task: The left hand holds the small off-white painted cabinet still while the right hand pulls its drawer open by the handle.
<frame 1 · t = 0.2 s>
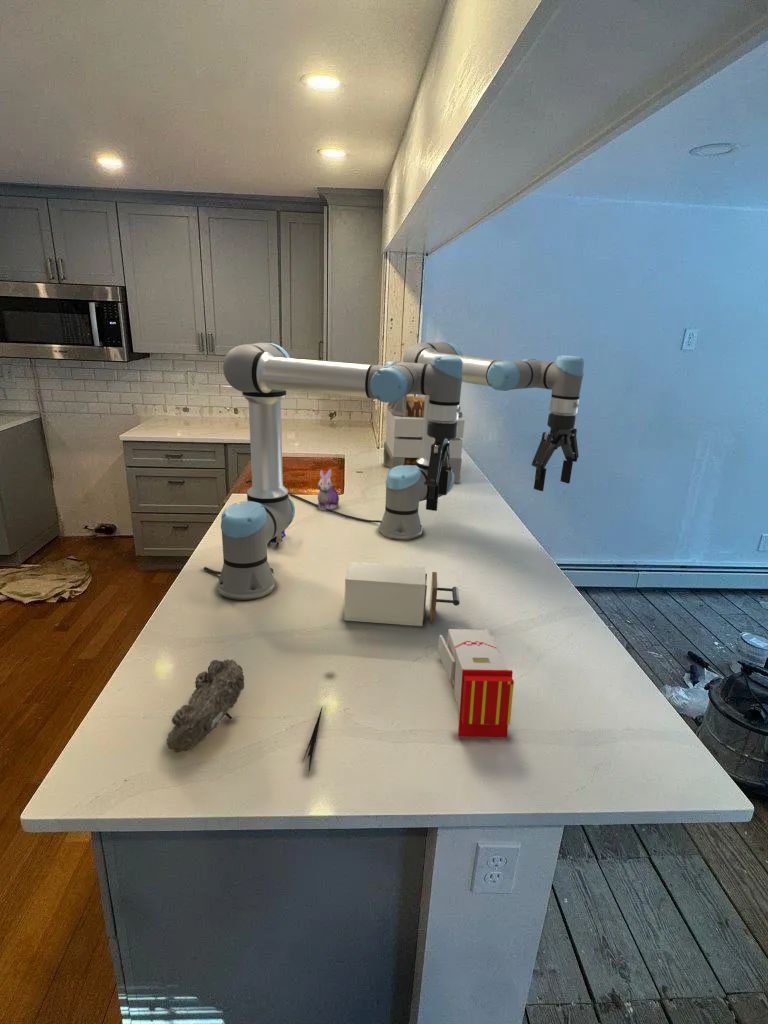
left hand: (436, 501, 148), 28 cm above the counter, tool pointing down, fingers open, 13 cm apart
right hand: (551, 486, 165), 28 cm above the counter, tool pointing down, fingers open, 13 cm apart
cabinet: (384, 613, 148), on the counter
feather: (319, 719, 109), on the counter
drawer: (410, 595, 145), point 6 cm above the counter, slide at 1.8 cm
figurine character: (275, 541, 189), on the counter
figurine: (327, 507, 223), on the counter
fossil: (212, 717, 108), on the counter
transformer: (419, 473, 275), on the counter
toy: (469, 691, 119), on the counter
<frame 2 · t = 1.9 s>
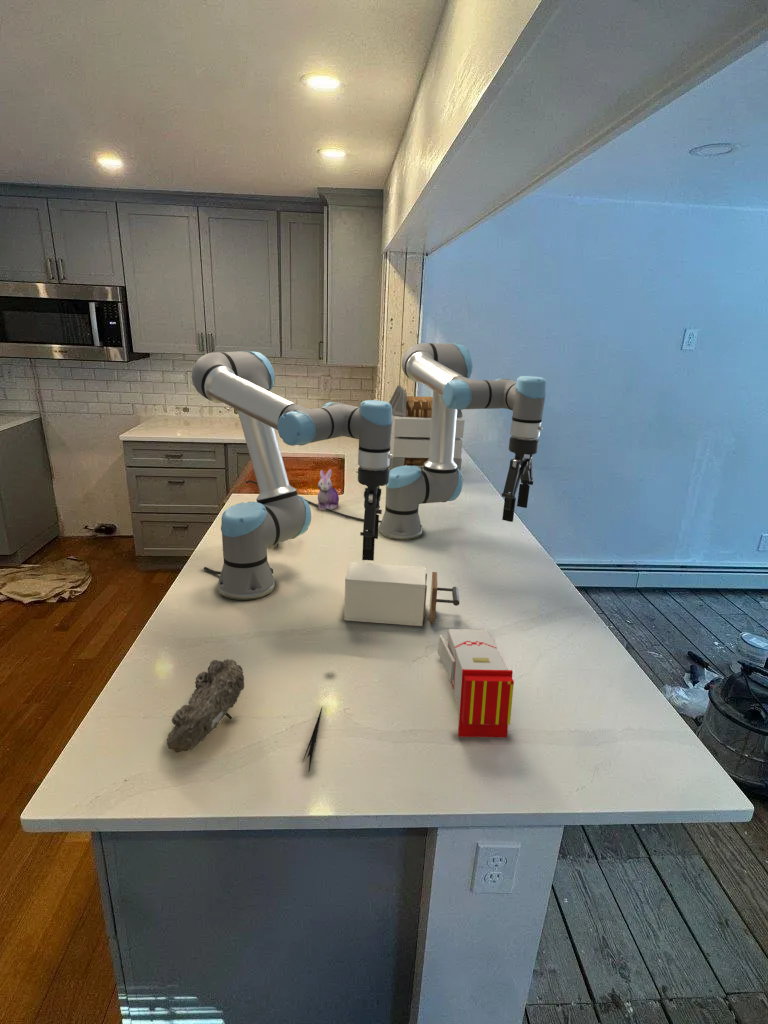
left hand: (370, 548, 142), 18 cm above the counter, tool pointing down, fingers open, 13 cm apart
right hand: (514, 513, 155), 23 cm above the counter, tool pointing down, fingers open, 13 cm apart
nothing on the counter moved.
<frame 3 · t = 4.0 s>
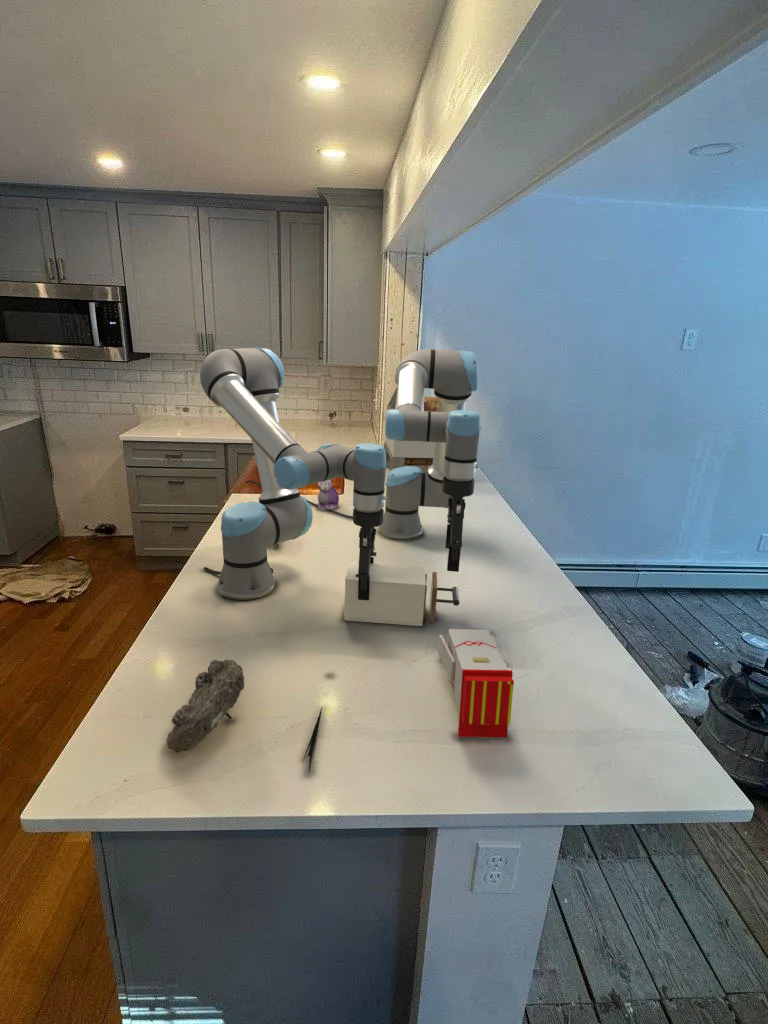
left hand: (365, 589, 146), 7 cm above the counter, tool pointing down, fingers closed on cabinet, 10 cm apart
right hand: (451, 559, 141), 17 cm above the counter, tool pointing down, fingers open, 13 cm apart
cabinet: (384, 613, 148), on the counter, touching left hand
everything else where it was.
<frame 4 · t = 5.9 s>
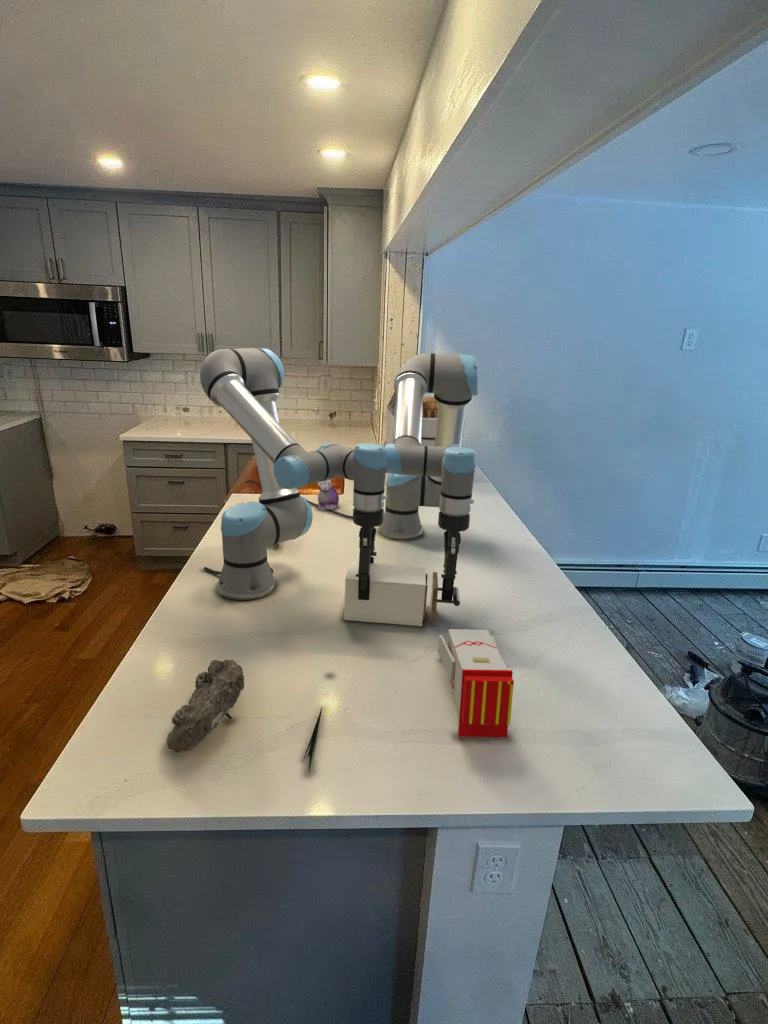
left hand: (365, 589, 146), 7 cm above the counter, tool pointing down, fingers closed on cabinet, 10 cm apart
right hand: (446, 598, 145), 6 cm above the counter, tool pointing down, fingers closed
cabinet: (384, 613, 148), on the counter, touching left hand
everything else where it was.
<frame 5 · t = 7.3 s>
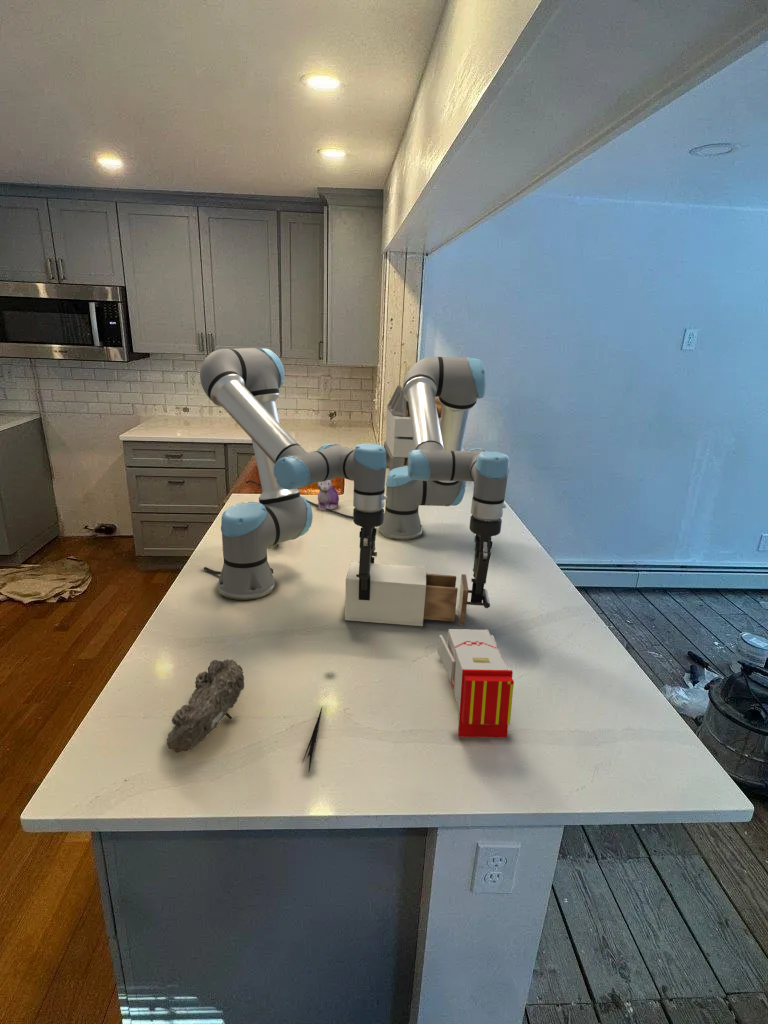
left hand: (366, 589, 146), 7 cm above the counter, tool pointing down, fingers closed on cabinet, 10 cm apart
right hand: (476, 603, 145), 5 cm above the counter, tool pointing down, fingers closed
cabinet: (385, 613, 148), on the counter, touching left hand
drawer: (440, 597, 145), point 6 cm above the counter, slide at 9.2 cm, touching right hand
everything else where it was.
when the left hand's fingers open (7 cm above the counter, at t = 9.2 s): cabinet stays where it is, on the counter.
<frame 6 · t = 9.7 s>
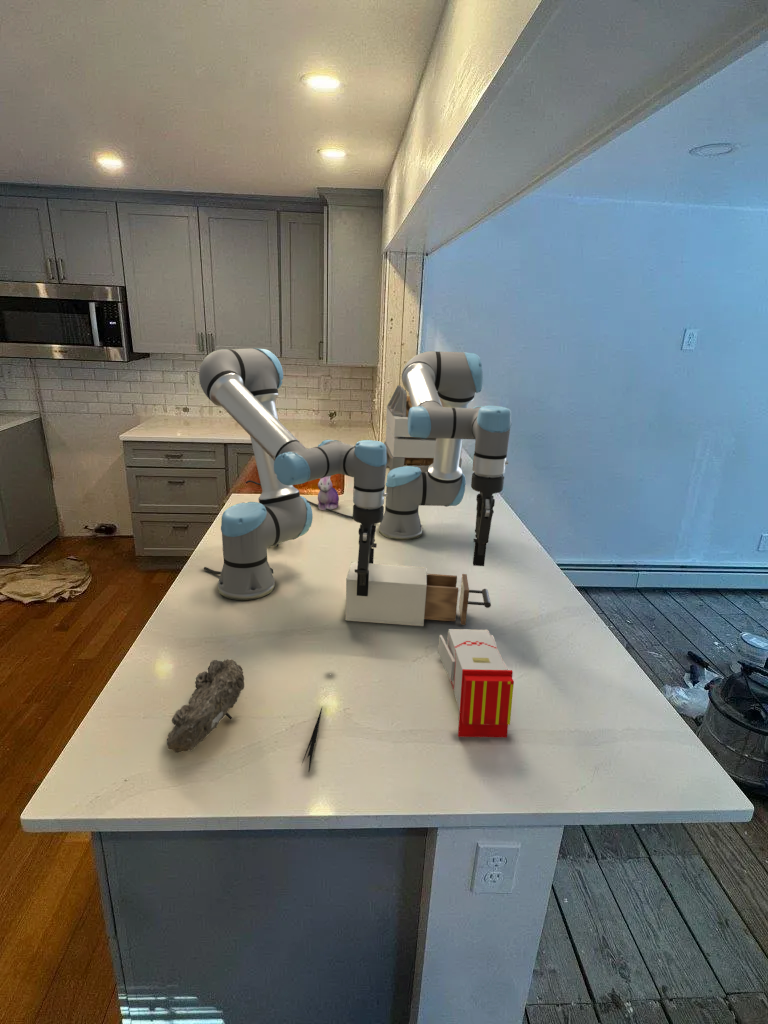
left hand: (365, 582, 145), 8 cm above the counter, tool pointing down, fingers open, 13 cm apart
right hand: (478, 564, 141), 16 cm above the counter, tool pointing down, fingers closed
cabinet: (385, 613, 148), on the counter
drawer: (441, 597, 145), point 6 cm above the counter, slide at 9.3 cm
everything else where it was.
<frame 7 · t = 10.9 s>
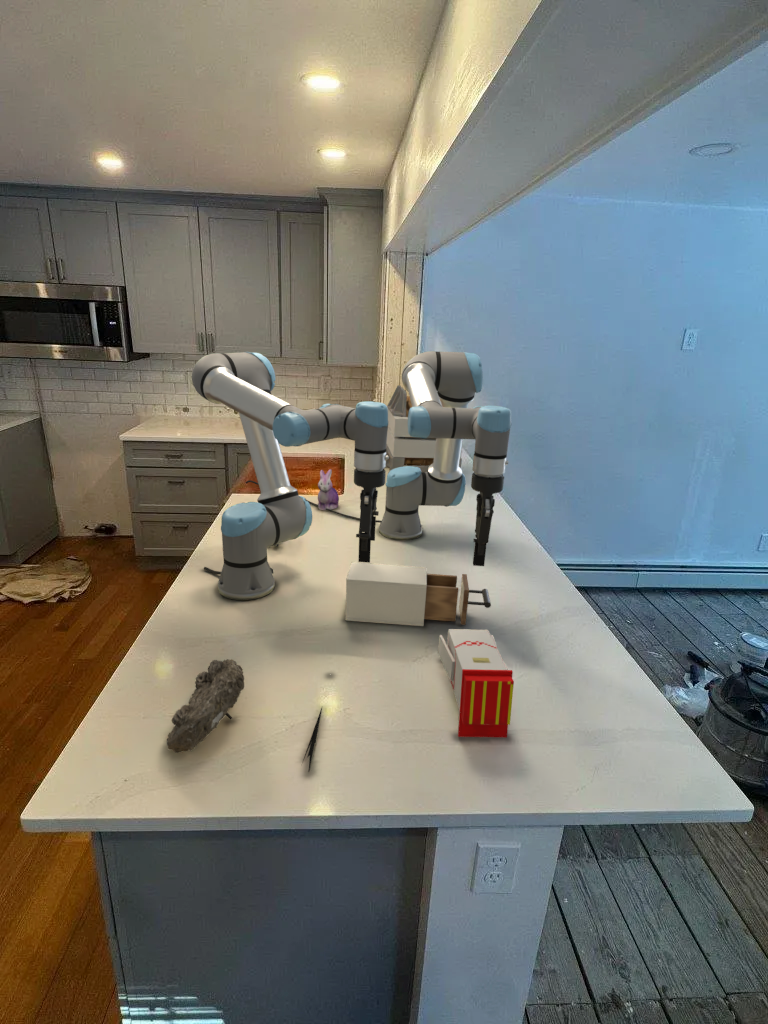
left hand: (367, 550, 142), 17 cm above the counter, tool pointing down, fingers open, 13 cm apart
right hand: (478, 564, 141), 16 cm above the counter, tool pointing down, fingers closed
nothing on the counter moved.
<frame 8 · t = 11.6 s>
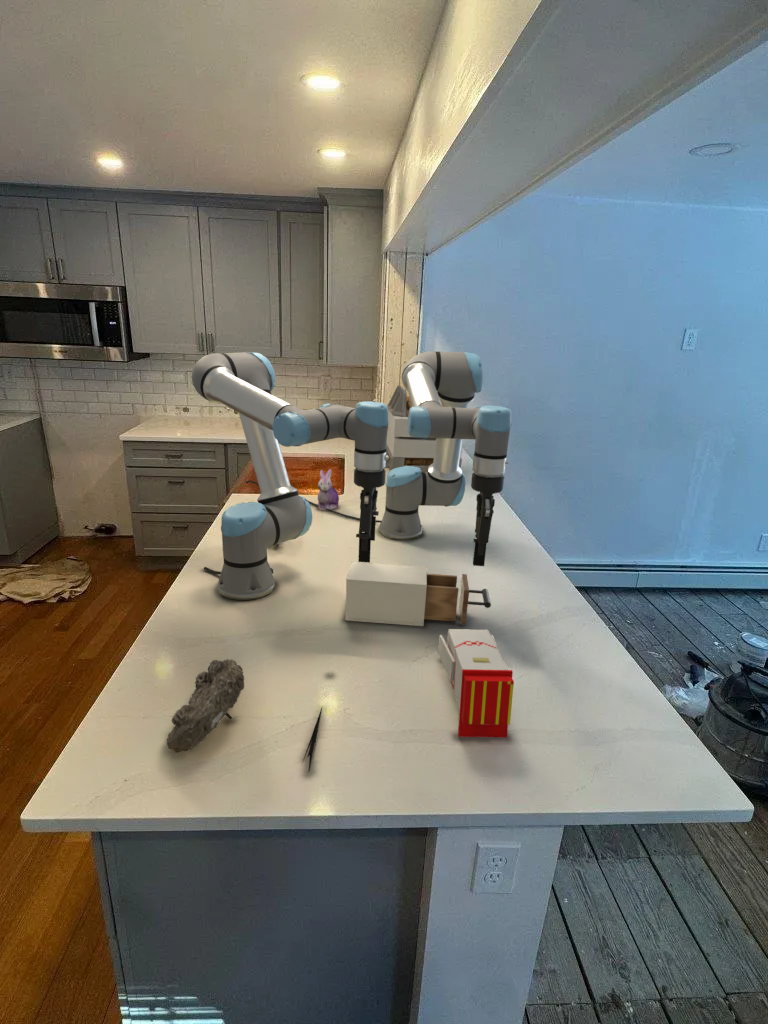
left hand: (367, 550, 142), 17 cm above the counter, tool pointing down, fingers open, 13 cm apart
right hand: (478, 564, 141), 16 cm above the counter, tool pointing down, fingers closed
nothing on the counter moved.
at the end: drawer slide at 9.3 cm; cabinet tilted 0°; cabinet never tilted more than 2° during the clip; cabinet moved 0.3 cm from its start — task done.
